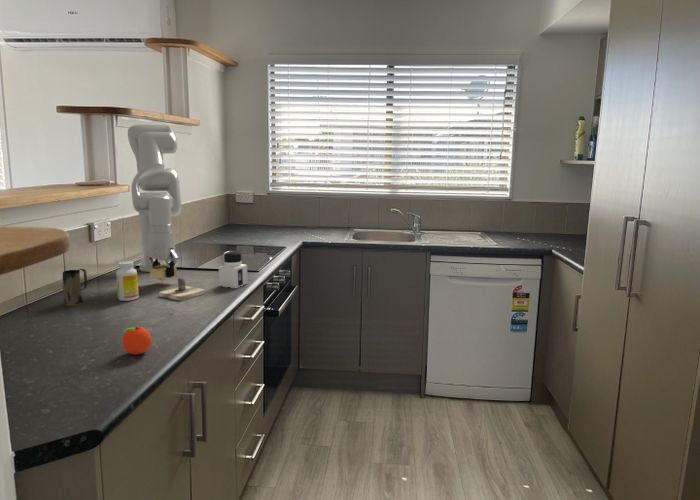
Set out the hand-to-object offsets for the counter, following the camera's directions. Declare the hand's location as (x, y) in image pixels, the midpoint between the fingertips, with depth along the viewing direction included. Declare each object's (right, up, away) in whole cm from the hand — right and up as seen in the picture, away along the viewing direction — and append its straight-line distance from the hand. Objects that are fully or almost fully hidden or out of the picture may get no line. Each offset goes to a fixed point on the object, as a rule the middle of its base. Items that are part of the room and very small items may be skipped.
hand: (163, 274), depth 202 cm
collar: (0, -1, 0) cm, 1 cm away
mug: (-20, -9, -25) cm, 33 cm away
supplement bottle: (-6, -8, -18) cm, 21 cm away
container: (+26, -4, 0) cm, 27 cm away
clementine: (+16, -17, -66) cm, 70 cm away
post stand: (+11, -7, -13) cm, 19 cm away
